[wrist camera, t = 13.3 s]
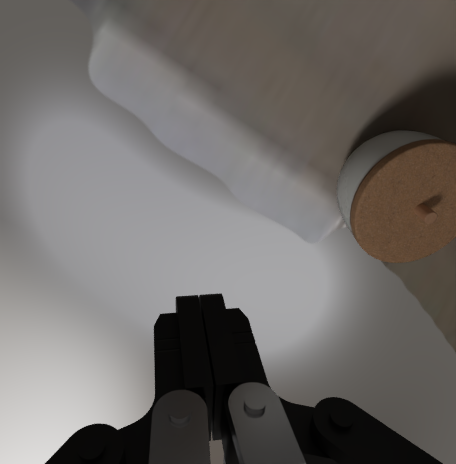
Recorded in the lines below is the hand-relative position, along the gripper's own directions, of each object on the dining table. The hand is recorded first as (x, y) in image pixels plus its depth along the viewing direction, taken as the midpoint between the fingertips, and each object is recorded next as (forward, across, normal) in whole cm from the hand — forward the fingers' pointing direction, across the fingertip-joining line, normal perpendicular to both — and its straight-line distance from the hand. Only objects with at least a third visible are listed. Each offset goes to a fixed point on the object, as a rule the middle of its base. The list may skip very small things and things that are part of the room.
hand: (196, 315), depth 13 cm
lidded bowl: (+29, -23, +7) cm, 38 cm away
